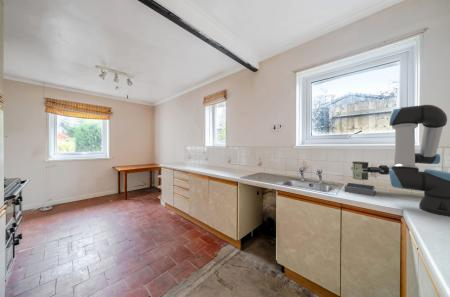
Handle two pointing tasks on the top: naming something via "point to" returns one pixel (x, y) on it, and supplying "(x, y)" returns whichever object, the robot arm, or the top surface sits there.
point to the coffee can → (360, 174)
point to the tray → (360, 188)
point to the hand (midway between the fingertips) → (354, 169)
